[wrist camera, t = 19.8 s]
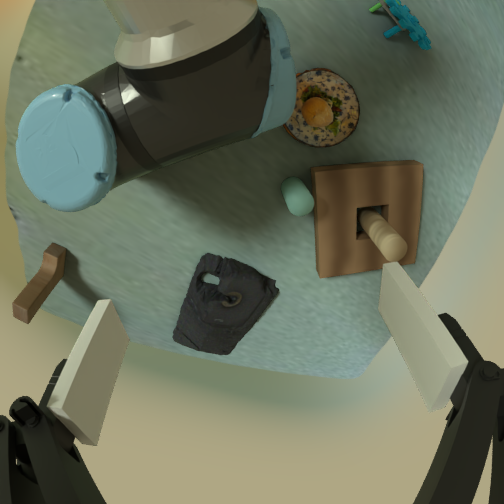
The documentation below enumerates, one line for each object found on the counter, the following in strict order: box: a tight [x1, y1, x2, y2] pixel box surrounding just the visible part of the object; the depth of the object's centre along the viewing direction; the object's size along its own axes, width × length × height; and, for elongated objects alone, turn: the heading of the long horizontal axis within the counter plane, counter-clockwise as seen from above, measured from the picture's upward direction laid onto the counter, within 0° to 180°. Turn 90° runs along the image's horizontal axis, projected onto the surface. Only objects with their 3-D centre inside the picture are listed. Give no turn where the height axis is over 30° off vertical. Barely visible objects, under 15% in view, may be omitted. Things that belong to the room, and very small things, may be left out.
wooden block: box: [12, 243, 66, 324], centre depth 45 cm, size 7×3×15 cm, turn 156°
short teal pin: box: [281, 177, 314, 216], centre depth 45 cm, size 4×4×7 cm
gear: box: [369, 0, 431, 50], centre depth 33 cm, size 11×6×10 cm
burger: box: [283, 68, 360, 148], centre depth 39 cm, size 12×12×8 cm
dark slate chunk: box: [173, 253, 279, 355], centre depth 57 cm, size 15×22×5 cm
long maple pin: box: [356, 206, 407, 262], centre depth 45 cm, size 4×4×12 cm
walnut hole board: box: [311, 160, 423, 278], centre depth 49 cm, size 18×18×3 cm
